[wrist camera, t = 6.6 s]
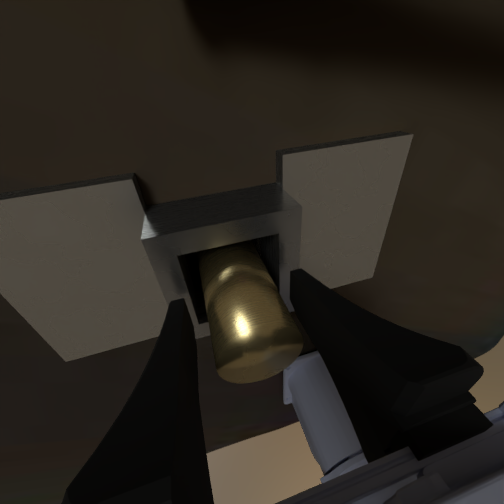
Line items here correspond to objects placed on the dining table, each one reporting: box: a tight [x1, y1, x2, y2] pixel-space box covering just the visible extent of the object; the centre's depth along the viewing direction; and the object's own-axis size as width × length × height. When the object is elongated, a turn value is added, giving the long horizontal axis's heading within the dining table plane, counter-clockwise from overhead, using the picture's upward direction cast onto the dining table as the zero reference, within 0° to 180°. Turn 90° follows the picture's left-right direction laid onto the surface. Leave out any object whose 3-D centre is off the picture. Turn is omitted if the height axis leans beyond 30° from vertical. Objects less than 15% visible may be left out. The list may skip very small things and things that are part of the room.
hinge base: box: [0, 131, 413, 362], centre depth 15 cm, size 11×23×4 cm, turn 95°
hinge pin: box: [196, 240, 304, 383], centre depth 13 cm, size 4×4×8 cm
